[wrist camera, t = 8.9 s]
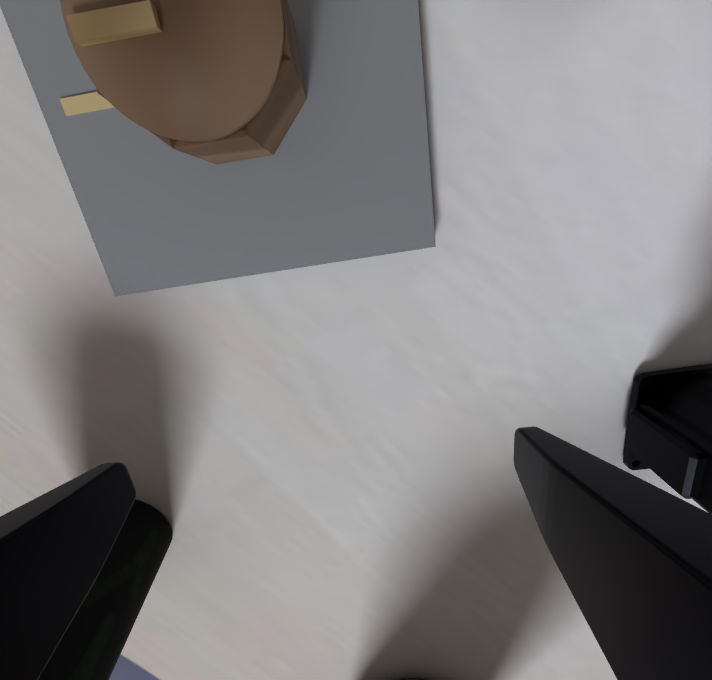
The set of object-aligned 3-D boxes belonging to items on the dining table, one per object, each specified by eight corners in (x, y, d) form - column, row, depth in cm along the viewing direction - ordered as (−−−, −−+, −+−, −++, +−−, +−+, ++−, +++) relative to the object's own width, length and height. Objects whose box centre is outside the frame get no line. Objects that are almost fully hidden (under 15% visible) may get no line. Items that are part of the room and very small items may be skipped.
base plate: (395, -229, 12) (412, -430, 8) (431, 244, 17) (451, 253, 14) (-34, -129, 13) (-195, -270, 9) (127, 291, 18) (68, 312, 15)
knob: (283, -38, 13) (248, -172, 8) (315, 148, 15) (300, 120, 11) (123, -8, 13) (5, -123, 9) (176, 171, 15) (103, 153, 11)
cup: (84, 470, 22) (-192, 730, 11) (200, 507, 23) (54, 781, 12) (67, 549, 25) (-175, 830, 14) (172, 580, 26) (29, 865, 15)
